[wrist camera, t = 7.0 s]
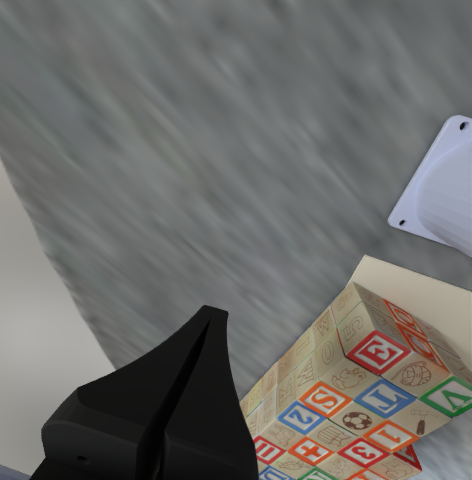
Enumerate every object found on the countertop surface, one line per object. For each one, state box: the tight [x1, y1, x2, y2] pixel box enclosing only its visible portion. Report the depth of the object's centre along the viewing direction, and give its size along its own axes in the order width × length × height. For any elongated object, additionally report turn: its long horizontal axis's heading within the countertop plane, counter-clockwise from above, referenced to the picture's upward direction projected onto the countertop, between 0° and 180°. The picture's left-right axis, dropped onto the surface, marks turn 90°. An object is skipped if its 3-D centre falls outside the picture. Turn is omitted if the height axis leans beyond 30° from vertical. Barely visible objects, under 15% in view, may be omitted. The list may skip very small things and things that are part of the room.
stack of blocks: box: [240, 281, 472, 480], centre depth 23 cm, size 21×6×12 cm
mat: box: [345, 255, 472, 372], centre depth 25 cm, size 14×26×1 cm, turn 163°
